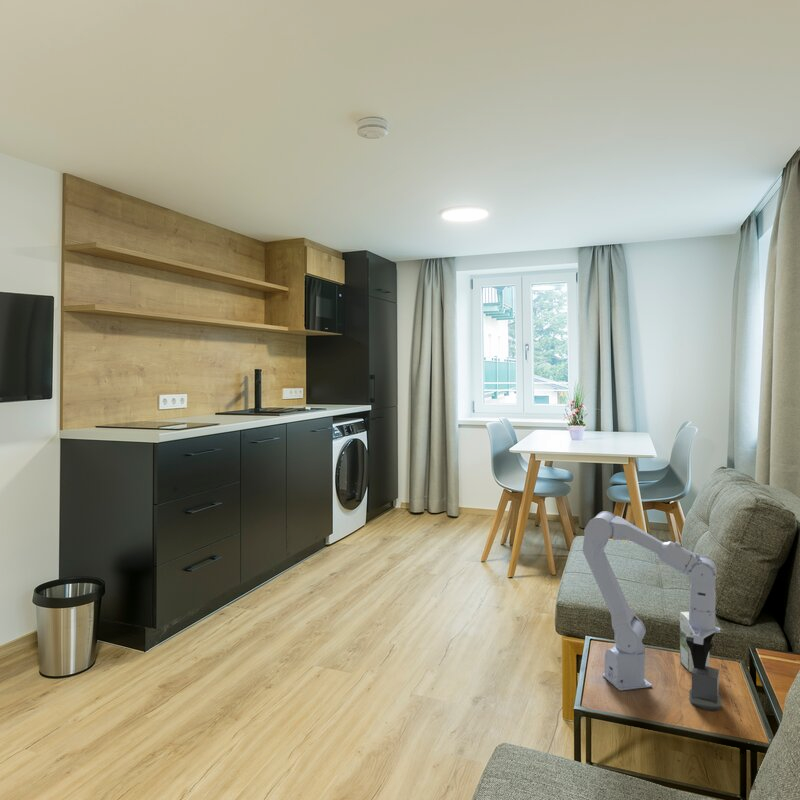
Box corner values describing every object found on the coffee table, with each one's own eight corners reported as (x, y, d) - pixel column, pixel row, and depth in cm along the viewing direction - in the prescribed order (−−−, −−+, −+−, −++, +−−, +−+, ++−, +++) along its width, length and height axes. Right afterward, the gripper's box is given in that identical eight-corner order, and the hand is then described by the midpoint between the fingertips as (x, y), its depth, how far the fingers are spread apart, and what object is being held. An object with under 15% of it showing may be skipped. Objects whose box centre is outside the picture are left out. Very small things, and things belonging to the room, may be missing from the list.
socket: (691, 696, 140) (692, 672, 140) (694, 686, 145) (694, 663, 144) (716, 703, 137) (717, 678, 137) (718, 693, 142) (719, 669, 141)
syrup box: (710, 672, 156) (711, 619, 155) (688, 672, 156) (689, 619, 155) (699, 662, 161) (700, 611, 161) (678, 662, 162) (679, 611, 161)
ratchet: (720, 714, 136) (720, 693, 136) (687, 705, 140) (688, 685, 140) (724, 687, 148) (724, 668, 148) (694, 679, 152) (694, 661, 152)
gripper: (718, 621, 133) (716, 679, 134) (722, 601, 146) (721, 654, 146) (684, 614, 137) (683, 670, 138) (691, 596, 149) (690, 647, 150)
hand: (700, 662), depth 142 cm, fingers open, 7 cm apart
